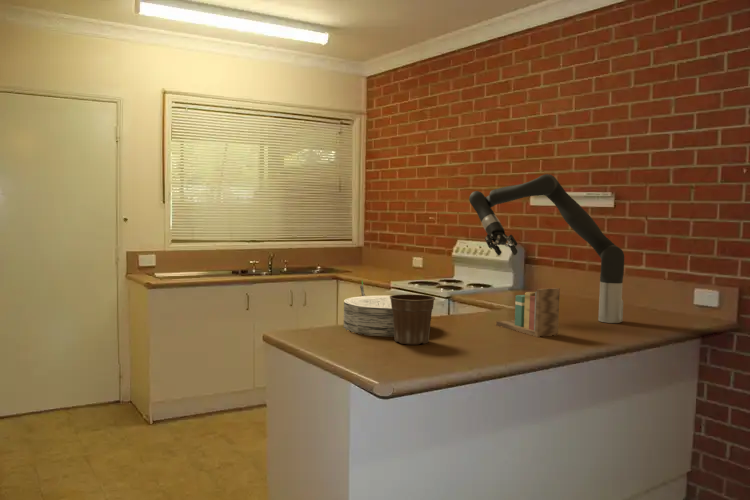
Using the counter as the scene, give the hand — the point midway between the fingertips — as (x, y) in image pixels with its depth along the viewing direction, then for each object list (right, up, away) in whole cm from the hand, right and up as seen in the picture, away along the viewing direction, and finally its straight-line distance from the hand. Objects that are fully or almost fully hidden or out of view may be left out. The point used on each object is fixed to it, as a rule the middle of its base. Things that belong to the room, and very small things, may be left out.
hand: (507, 253), depth 270 cm
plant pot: (-45, -31, -49) cm, 73 cm away
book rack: (+2, -30, -22) cm, 37 cm away
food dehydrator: (-54, -30, -22) cm, 66 cm away
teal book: (+1, -29, -21) cm, 36 cm away
